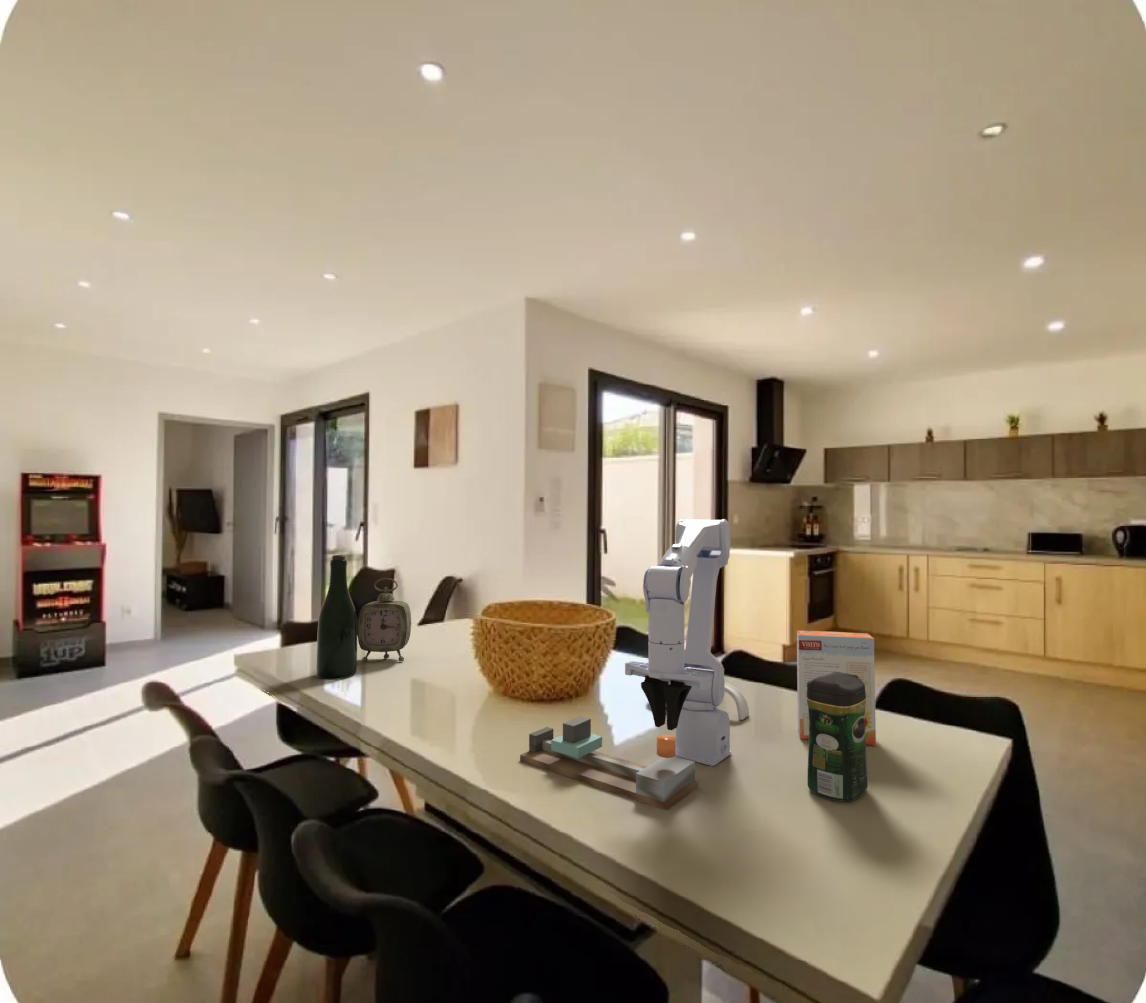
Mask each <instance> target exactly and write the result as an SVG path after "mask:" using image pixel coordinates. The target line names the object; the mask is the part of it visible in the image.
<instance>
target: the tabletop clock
mask: <svg viewBox="0 0 1146 1003" xmlns="http://www.w3.org/2000/svg"><path fill="white" fill-rule="evenodd" d="M380 581H391V582H393V583H394V584H395V587H394V588H392V589H391V588H390V589H388V587H387V586H385V587H384V588H383V589H381V588H379V587H377V583H379V582H380ZM398 584H399V583H398V582H397V581H396V580H395V579H392V578H390V577H382V578H379V579H377V580H376V581H375V582H374V584H373V586H374V589H375V590H376V591H378V592H382V593H380V594H379V595H378V596H377V598H376V600H375V601H371V602H368V603H366V604H365V605H363V606H361V608H360V610H359V612H358V616H357V617H358V618H357V643H358V645H359V647H360V649H361V650H363V651H365V652H367V653H366V655H365V656H363V657H362V658H361V661H362V662H363V663H367V662H368V657H369V655H370V654H371V653H372V652H374V653H384V655H383V658H384V659H385V658H388V659H389V657H390V655H389V654H390V652H396V653H397V655H398V662H400V661H402V662H404V660H405V658H404V656H402V655H401V650H402V649H404V648H405V647H406V645H408V643H409V641H410V638H411V631H412V614H411V608H410V605H409V603H408V602H405V601H402V600H395V596H394V595H393V594H392V593H390V592H393V591H395V590H396V589H397V588H398ZM366 661H367V662H366Z"/></svg>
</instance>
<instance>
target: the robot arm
mask: <svg viewBox="0 0 1146 1003" xmlns="http://www.w3.org/2000/svg"><path fill="white" fill-rule="evenodd" d="M674 533H675V534H674V536H675V538H674V539H675V543H673V544H672V546H669V548H668V549H667V551H666V552H665V553H664V555H663V556H662V558H661V559H660V561H659V562H658V564H657V565H652V566H651V567H650V568H647V569H646V570H645V572H644V575H643V579H642V580H643V584H642V590H643V596H644V601H645V602H644V603H645V611H646V612H647V613H648V630H647V631H648V632H647V633H648V638H647V639H648V655H647V656H648V661H647V662H640V661H639V662H638V661H632V660H631V661H627V662H626V663H625V664H624V674H625V675H626V676H637V677H642V678H644V680H643V681H642V682H641V683H640V687H641V688H640V689H641V690H642V691H643V693H644V695H645V697H646V699H647V701H648V703H649V707H650V710H651V714H652V719H653V723H654V727H657V728H660V727H662V726H664V725H665V724H666V728H667V730H669V731H674V730H675V738H676V757H679V758H683V759H687V760H690V761H694V762H695V763H699V764H704V765H707V766H712V767H714V766H716V765H718V764H719V763H720V762H721V761H724V760H725V759H726V758H728V756H730V755H731V754H732V750H731V748H730V747H731V745H730V744H731V734H730V732H731V731H730V730H731V725H730V724H731V723H730V722H731V721H730V715H729V714H728V713H729V712H727V711H725V710H722V709H720V708H718V707H719V706H720V705H721V704H722V703H723V701H724V696H725V691H724V689H725V683H724V682H725V668H724V665H723V664H722V662H721V661H720V660H719V659H718V658H717V657H716V656H715V655H714V654H713V653H712V652H711V650H712V638H713V628H714V626H713V625H714V616H715V606H716V605H715V604H716V594H717V583H718V582H717V581H718V576H719V573H720V569H721V568H723V567H725V566H727V565H728V563H729V559H730V551H731V541H732V539H731V538H732V537H731V526H730V522H729V521H728V520H727V519H726V518H723V519H685V518H680V519H679V521H678V522H677V523H676V525H675V532H674ZM691 578H692V579H691ZM691 580H692V581H691ZM690 588H691V592H690ZM689 595H690V601H689V602H690V603H689V609H688V610H689V611H688V621H687V631H686V641H685V629H686V627H685V624H686V623H685V622H686V621H685V620H686V619H685V614H686V613H685V604H686V602H687V601H688V599H689Z"/></svg>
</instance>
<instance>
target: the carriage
mask: <svg viewBox="0 0 1146 1003" xmlns="http://www.w3.org/2000/svg"><path fill="white" fill-rule="evenodd" d="M591 722H592V719H591V718H590V717H589V718H588V717H585V716H578V717H575V718H572V719H570V720H567V721H565V722H562V735H559V736H557V737H553V739H552V740H551V750H552V751H555V752H559V753H562V754H565V755H568V756H571V757H575V758H580V757H582V756H584V755H586V754H588V753H590V752H592V751H596V750H598V749H601V748H602V747H603V736H601V735H598V734H594V733H591V732H592V730H591V729H592V726H591V725H592V724H591Z"/></svg>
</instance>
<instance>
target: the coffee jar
mask: <svg viewBox="0 0 1146 1003" xmlns="http://www.w3.org/2000/svg"><path fill="white" fill-rule="evenodd" d="M807 704H808V710H809V740H808V752H807V753H808V754H807V755H808V756H807V787H808V789H809V790H810V791H811V792H813V793H815V794H816V795H818V796H819V797H822V798H824V799H826V800H829V801H840V802H846V803H847V802H852V801H854V800H857V799H858V798H860V797H861V796H862V795H863V794H864V793H865V792H866V791H867V789H868V785H869V784H868V768H867V767H868V766H867V749H866V748H867V747H866V746H867V745H866V743H865V706H866V693H865V684H864V683H863V681H862V680H861V679H860V678H859V677H858V676H857V675H852V674H847V673H842V672H836V671H834V672H833V673H830V674H827V675H823V676H820V677H818V678H815V679H813V680H810V681H808V682H807Z"/></svg>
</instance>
